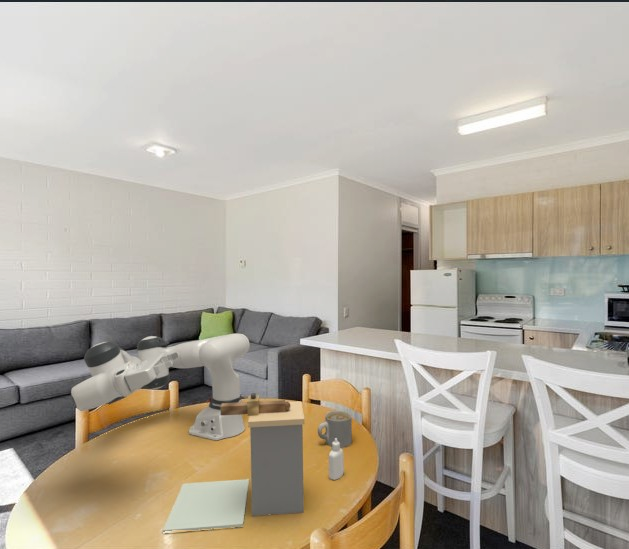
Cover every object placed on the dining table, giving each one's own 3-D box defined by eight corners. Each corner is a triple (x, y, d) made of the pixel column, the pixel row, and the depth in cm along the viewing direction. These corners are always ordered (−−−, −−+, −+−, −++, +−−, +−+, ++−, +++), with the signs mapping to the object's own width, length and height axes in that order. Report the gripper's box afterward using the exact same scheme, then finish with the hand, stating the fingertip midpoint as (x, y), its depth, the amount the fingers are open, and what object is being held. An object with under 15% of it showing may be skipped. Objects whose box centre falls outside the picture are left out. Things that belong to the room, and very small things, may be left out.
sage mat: (162, 534, 93) (162, 530, 93) (183, 486, 112) (183, 483, 112) (242, 527, 95) (242, 523, 95) (249, 482, 114) (249, 479, 114)
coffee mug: (347, 434, 146) (347, 409, 146) (355, 446, 136) (354, 419, 136) (314, 437, 144) (314, 412, 143) (320, 450, 134) (319, 423, 134)
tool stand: (249, 517, 98) (248, 421, 98) (253, 488, 111) (251, 403, 110) (305, 513, 100) (304, 418, 99) (302, 485, 113) (301, 401, 112)
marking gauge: (219, 417, 101) (219, 398, 101) (222, 410, 106) (222, 392, 106) (290, 413, 103) (290, 395, 103) (290, 406, 108) (290, 389, 108)
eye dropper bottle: (325, 474, 118) (325, 437, 118) (341, 470, 120) (340, 434, 120) (331, 481, 114) (330, 443, 114) (347, 477, 116) (346, 440, 116)
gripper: (143, 376, 119) (184, 358, 121) (122, 399, 99) (172, 378, 101) (135, 358, 119) (177, 341, 121) (113, 378, 99) (163, 357, 101)
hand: (175, 358), depth 111 cm, fingers open, 8 cm apart
